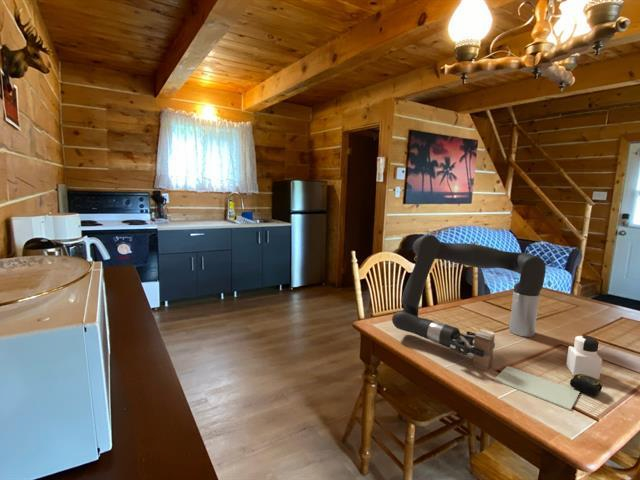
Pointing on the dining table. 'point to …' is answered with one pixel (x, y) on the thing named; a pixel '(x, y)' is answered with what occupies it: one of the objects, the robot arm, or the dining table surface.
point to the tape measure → (586, 384)
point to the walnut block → (485, 343)
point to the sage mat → (538, 387)
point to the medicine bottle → (584, 357)
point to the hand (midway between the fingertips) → (489, 350)
